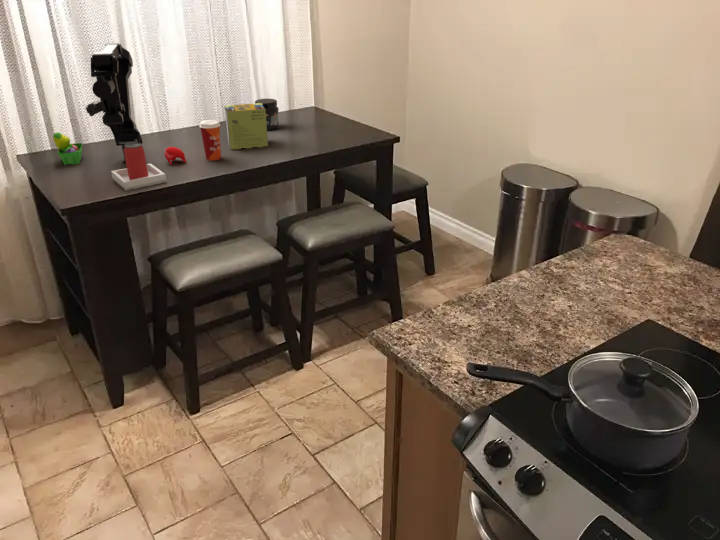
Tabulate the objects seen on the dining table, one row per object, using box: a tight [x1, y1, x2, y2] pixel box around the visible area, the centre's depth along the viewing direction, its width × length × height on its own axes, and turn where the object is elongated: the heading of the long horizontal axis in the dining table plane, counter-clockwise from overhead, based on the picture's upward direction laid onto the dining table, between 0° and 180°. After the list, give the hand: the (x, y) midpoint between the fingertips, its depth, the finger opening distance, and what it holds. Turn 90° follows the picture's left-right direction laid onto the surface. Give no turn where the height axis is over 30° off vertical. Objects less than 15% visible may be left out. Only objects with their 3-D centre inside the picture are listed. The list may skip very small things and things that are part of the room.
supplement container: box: [254, 98, 280, 131], centre depth 268 cm, size 10×10×12 cm
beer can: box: [124, 142, 149, 180], centre depth 208 cm, size 7×7×12 cm
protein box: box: [223, 102, 269, 151], centre depth 245 cm, size 10×15×16 cm
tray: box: [110, 162, 167, 192], centre depth 211 cm, size 14×14×3 cm
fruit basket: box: [52, 131, 83, 166], centre depth 227 cm, size 11×9×11 cm
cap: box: [164, 146, 187, 166], centre depth 228 cm, size 8×6×6 cm
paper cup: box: [199, 119, 222, 161], centre depth 230 cm, size 8×8×14 cm
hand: (118, 137), depth 212 cm, fingers open, 9 cm apart
